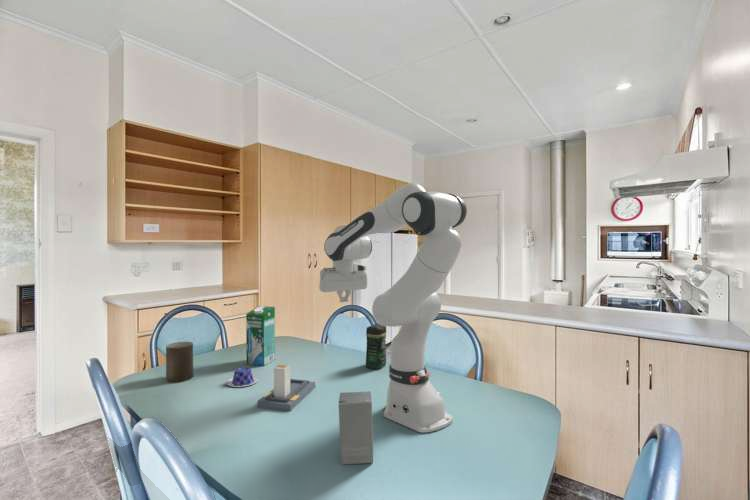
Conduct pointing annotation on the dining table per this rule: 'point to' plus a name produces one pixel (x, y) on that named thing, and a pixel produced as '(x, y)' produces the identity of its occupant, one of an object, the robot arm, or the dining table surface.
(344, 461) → the skincare box
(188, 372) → the pillar candle
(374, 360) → the coffee jar
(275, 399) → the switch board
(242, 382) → the pudding
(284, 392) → the white rectangular block
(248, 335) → the milk carton
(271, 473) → the dining table surface
